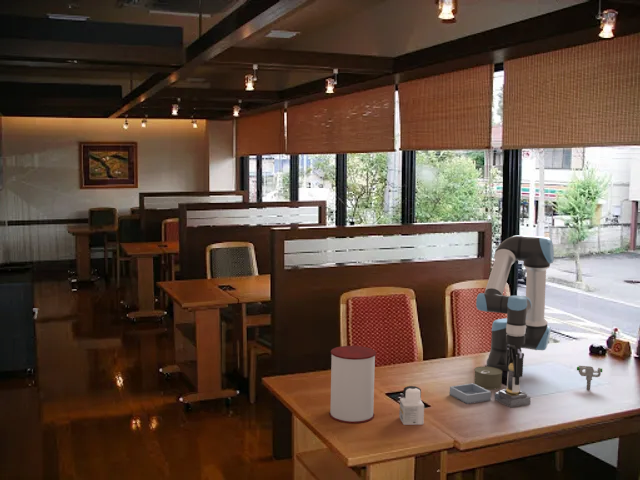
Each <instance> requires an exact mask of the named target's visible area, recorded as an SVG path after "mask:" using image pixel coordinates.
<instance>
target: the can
mask: <svg viewBox="0 0 640 480" xmlns="http://www.w3.org/2000/svg"><path fill="white" fill-rule="evenodd" d="M502 378H503V371H502V370H500V369H498V368H494V367H487V365H486V366H478V367H474V378H473V379H474V380H473V381H474V382H473V383H474V384H476V385H478V386H480V387H482V388H484V389H486V390H488V391H491V390H499V389H501V388H502V382H503V381H502V380H503V379H502Z"/></svg>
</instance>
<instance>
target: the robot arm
mask: <svg viewBox="0 0 640 480" xmlns="http://www.w3.org/2000/svg"><path fill="white" fill-rule="evenodd" d="M554 255H555V251H554V243H553V241H552V239H551V238H550V237H545V236H536V235H535V236H532V235H513V236H510V237H508V238H506V239H505V240H503V241H502V242H501V243H500V244H499V245H498V247H496V249H495V252H494V255H493V258H494V262H493V265H492V268H491V272H490V274H489V278H488V281H487V283H486V286H485V291H484V292H479V293H478V294H477V296H476V300H475V301H476V302H475V304H476V306H475V307H476V309H477V311H481V312H488V313H496V314H497V313H498V314H505V315H506V317H505V318H498V319H495V320H494V321H493V322H492V325H491V329H490V330H491V340H490V341H491V343H490V352H489V354H488V357H487V359H486V367H494V368H498V369H500V370H502V372H507V374H506V375H507V380H506V388H507V387H508V377H509V364H510V363H512V362H513V367H514V376H512V377H513V382H512V392H519V389H520V386H521V385H520V382H521V380H520V379H521V378H523V373H524V359H525V357H524V356H525V353H524V352H522V349H527V350H532V351H533V350H534V351H545V350H546V349H547V347H548V344H549V341H550V335H551V331H552V329H551V328H552V327H551V326H550V325H548V321H547V320H546V318H545V310H546V309H545V303H546V282H547V281H546V279H547V269H549V268H550V265H551V264H553V263H554V260H555V259H554V258H555V256H554ZM516 261H520V262H522V263H523V265H522V266H524V267H525V268H526V277H525V278H526V279H525V280H526V281H525V282H526V283H525V284H526V285H525V295H504V291H505V288H506V284H507V280H508V278H509V274H510V271H511V267H512V265H513V264H514V263H515V262H516Z"/></svg>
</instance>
